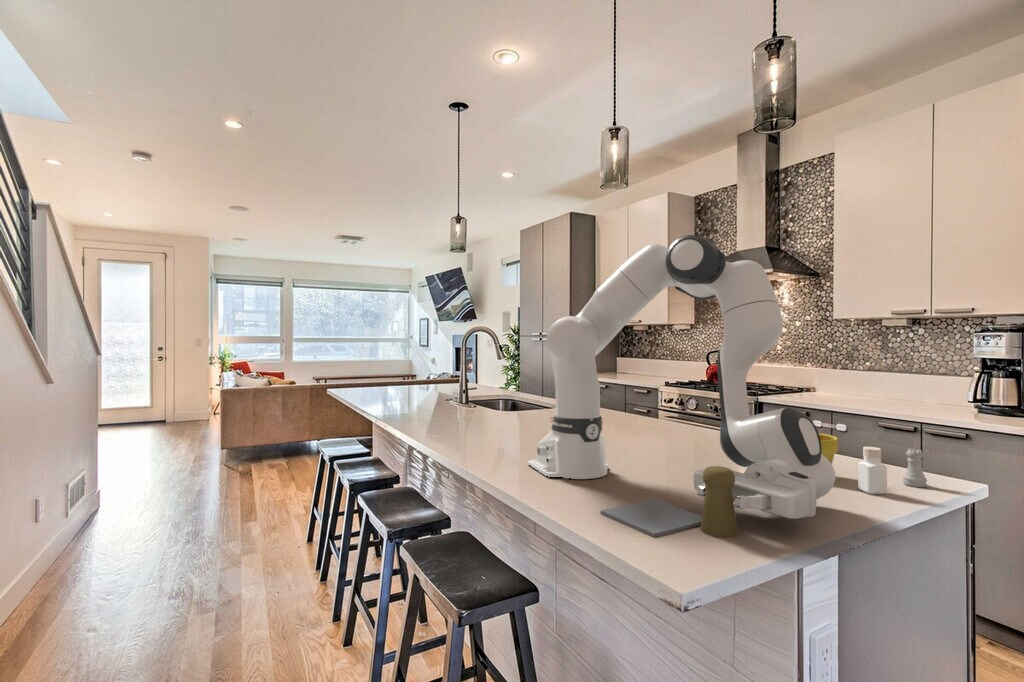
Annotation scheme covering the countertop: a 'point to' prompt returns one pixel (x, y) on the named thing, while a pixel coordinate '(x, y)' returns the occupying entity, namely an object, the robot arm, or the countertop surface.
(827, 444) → the plant pot
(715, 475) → the olive chess pawn
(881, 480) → the salt shaker
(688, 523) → the plate
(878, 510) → the countertop surface
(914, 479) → the rook chess piece
